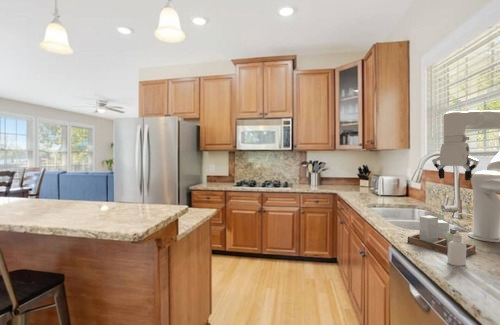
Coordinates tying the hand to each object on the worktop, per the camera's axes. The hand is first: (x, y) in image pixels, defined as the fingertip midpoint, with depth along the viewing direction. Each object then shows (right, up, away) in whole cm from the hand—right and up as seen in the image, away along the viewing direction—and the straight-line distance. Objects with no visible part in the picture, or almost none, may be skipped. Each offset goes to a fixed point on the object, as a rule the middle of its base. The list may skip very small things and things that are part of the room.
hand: (454, 179), depth 115 cm
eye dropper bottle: (-15, -30, -20) cm, 39 cm away
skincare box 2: (+1, -29, +11) cm, 31 cm away
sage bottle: (-6, -29, -8) cm, 31 cm away
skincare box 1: (-11, -29, +1) cm, 31 cm away
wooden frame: (-9, -29, -3) cm, 30 cm away
